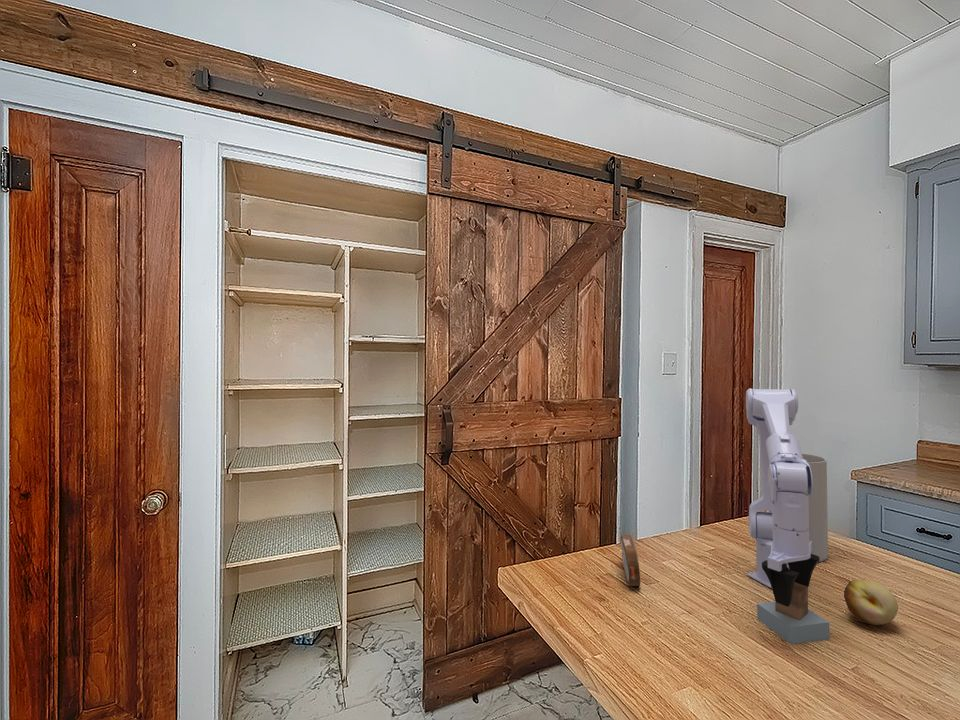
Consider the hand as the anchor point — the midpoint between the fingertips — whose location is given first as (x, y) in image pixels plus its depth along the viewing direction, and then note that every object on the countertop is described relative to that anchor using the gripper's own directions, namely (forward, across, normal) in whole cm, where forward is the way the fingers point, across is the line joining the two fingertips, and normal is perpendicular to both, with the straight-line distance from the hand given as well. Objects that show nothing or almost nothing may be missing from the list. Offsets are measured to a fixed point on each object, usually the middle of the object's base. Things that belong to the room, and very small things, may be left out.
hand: (791, 597), depth 86 cm
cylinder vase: (+6, -38, -13) cm, 41 cm away
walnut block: (+3, 0, 0) cm, 3 cm away
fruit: (+6, -14, +8) cm, 17 cm away
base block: (+6, 0, 0) cm, 6 cm away
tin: (+6, +7, -31) cm, 33 cm away
